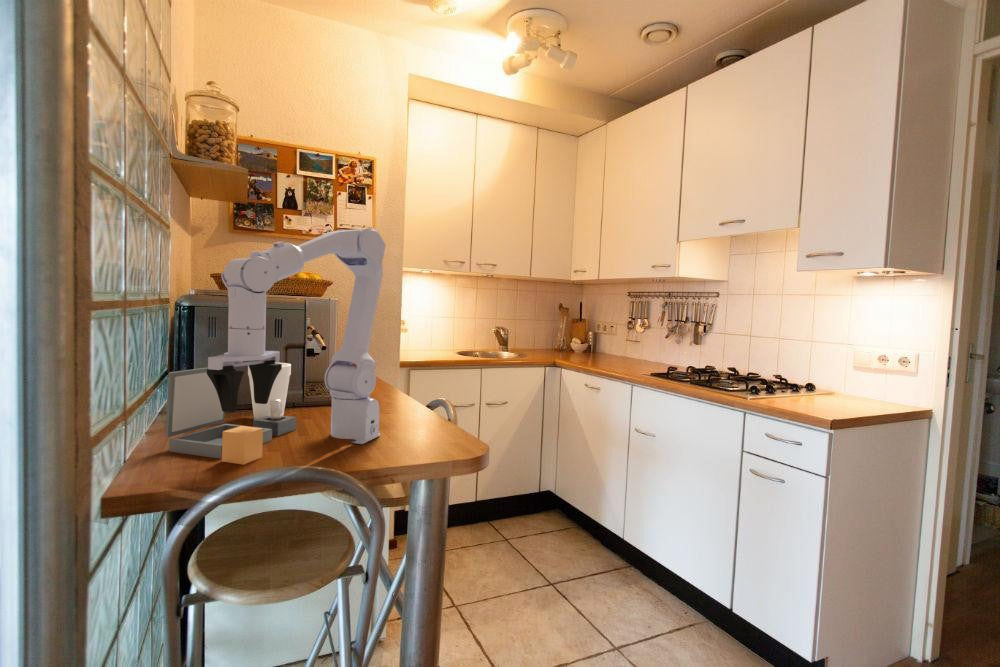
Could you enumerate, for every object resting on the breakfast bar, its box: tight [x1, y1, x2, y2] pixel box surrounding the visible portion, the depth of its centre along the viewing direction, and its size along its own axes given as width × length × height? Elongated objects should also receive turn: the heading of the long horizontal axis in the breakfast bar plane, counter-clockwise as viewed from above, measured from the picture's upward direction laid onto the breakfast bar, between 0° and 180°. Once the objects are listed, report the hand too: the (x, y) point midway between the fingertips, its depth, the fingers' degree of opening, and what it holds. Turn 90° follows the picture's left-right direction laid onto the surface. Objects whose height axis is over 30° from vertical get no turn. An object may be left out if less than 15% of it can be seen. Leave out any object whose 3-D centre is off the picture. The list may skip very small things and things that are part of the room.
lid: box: [164, 367, 226, 438], centre depth 95 cm, size 12×13×1 cm
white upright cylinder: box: [269, 399, 282, 421], centre depth 106 cm, size 2×2×7 cm
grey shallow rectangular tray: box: [168, 423, 273, 460], centre depth 94 cm, size 11×13×3 cm
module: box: [221, 425, 264, 465], centre depth 87 cm, size 4×4×6 cm
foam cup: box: [247, 362, 292, 420], centre depth 120 cm, size 10×9×13 cm
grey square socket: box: [252, 415, 297, 437], centre depth 106 cm, size 6×6×4 cm
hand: (245, 407), depth 86 cm, fingers open, 7 cm apart
